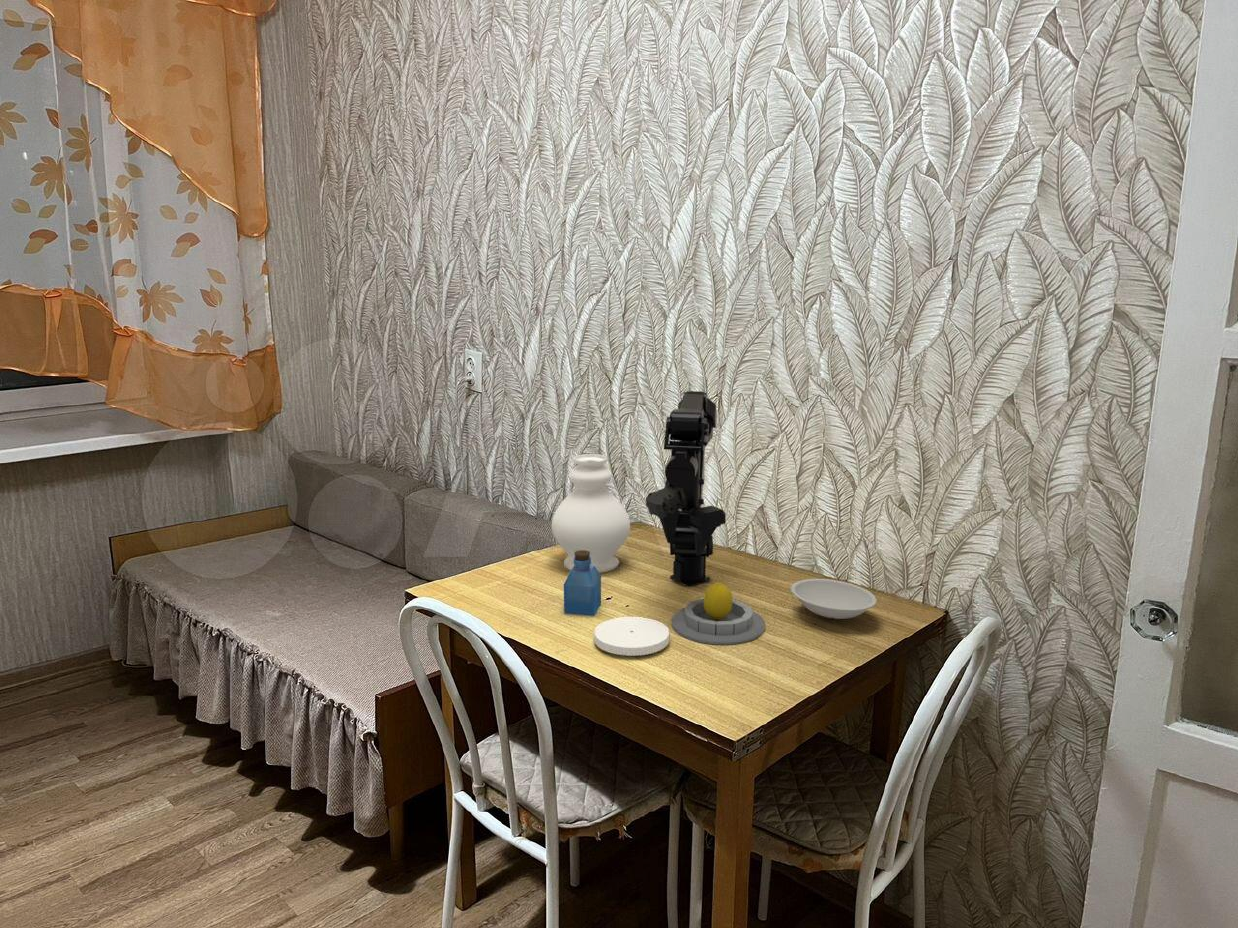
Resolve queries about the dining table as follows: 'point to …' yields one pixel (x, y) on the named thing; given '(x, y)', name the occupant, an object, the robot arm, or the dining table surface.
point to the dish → (833, 598)
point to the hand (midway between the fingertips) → (684, 548)
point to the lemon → (718, 601)
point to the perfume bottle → (582, 587)
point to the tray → (718, 639)
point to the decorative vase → (591, 516)
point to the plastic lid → (631, 636)
